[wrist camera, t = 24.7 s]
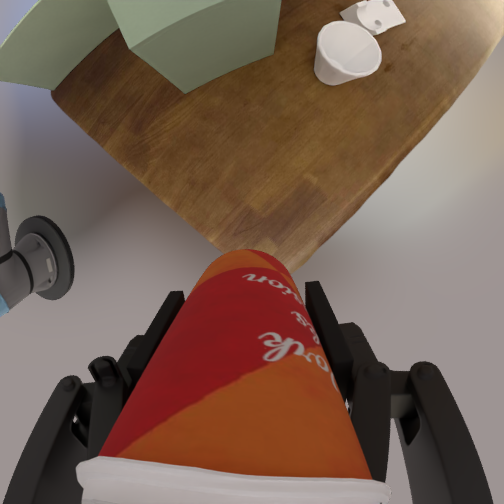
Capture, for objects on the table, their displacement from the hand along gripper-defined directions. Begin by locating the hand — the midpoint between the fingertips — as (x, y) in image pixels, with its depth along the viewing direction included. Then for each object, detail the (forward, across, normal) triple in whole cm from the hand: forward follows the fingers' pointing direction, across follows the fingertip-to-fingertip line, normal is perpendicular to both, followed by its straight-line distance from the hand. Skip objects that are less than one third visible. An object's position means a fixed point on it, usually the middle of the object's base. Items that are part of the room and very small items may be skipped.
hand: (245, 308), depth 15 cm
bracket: (+36, +28, +39) cm, 60 cm away
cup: (+36, +16, +25) cm, 47 cm away
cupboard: (+36, -7, +38) cm, 53 cm away
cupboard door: (+36, -33, +43) cm, 65 cm away
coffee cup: (+2, 0, 0) cm, 2 cm away
